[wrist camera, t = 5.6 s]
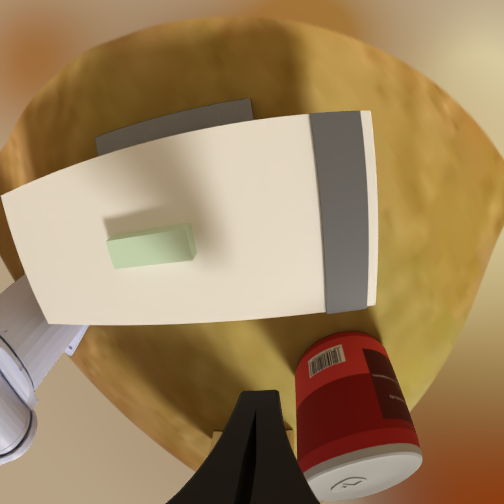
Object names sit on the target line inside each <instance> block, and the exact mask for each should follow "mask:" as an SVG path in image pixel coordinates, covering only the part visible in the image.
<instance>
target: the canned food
mask: <svg viewBox="0 0 504 504" xmlns="http://www.w3.org/2000/svg"><path fill="white" fill-rule="evenodd" d="M295 388H296V419H297V462H298V464H299V466H300V468H301V471H302V473H303V474H304V476H305V478H306V480H307V482H308V484H309V486H310V488H311V489H312V491H313V493H314V495H315V496H316V498H317V499H318V500H322V501H340V500H348V499H354V498H360V497H364V496H367V495H371V494H374V493H377V492H380V491H382V490H385V489H388V488H390V487H392V486H394V485H396V484H398V483H400V482H401V481H403V480H405V479H406V478H407V477H409V476H410V475H411V474H413V473H414V472H415V471H416V470H417V469H418V468H419V466H420V465H421V463H422V455H421V448H420V445H419V442H418V437H417V434H416V431H415V428H414V425H413V422H412V419H411V416H410V413H409V410H408V408H407V405H406V402H405V399H404V396H403V394H402V391H401V388H400V386H399V383H398V380H397V378H396V375H395V373H394V370H393V367H392V365H391V362H390V360H389V357H388V355H387V352H386V350H385V348H384V347H383V346H382V345H381V343H380V342H379V341H377V340H376V339H375V338H374V337H372V336H371V335H368V334H366V333H362V332H355V331H354V332H342V333H337V334H334V335H331V336H328V337H326V338H324V339H322V340H320V341H318V342H317V343H315V344H314V345H312V346H311V347H310V348H309V349H308V350H307V351H306V352H305V353H304V355H303V356H302V357H301V359H300V362H299V364H298V367H297V369H296V374H295Z"/></svg>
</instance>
